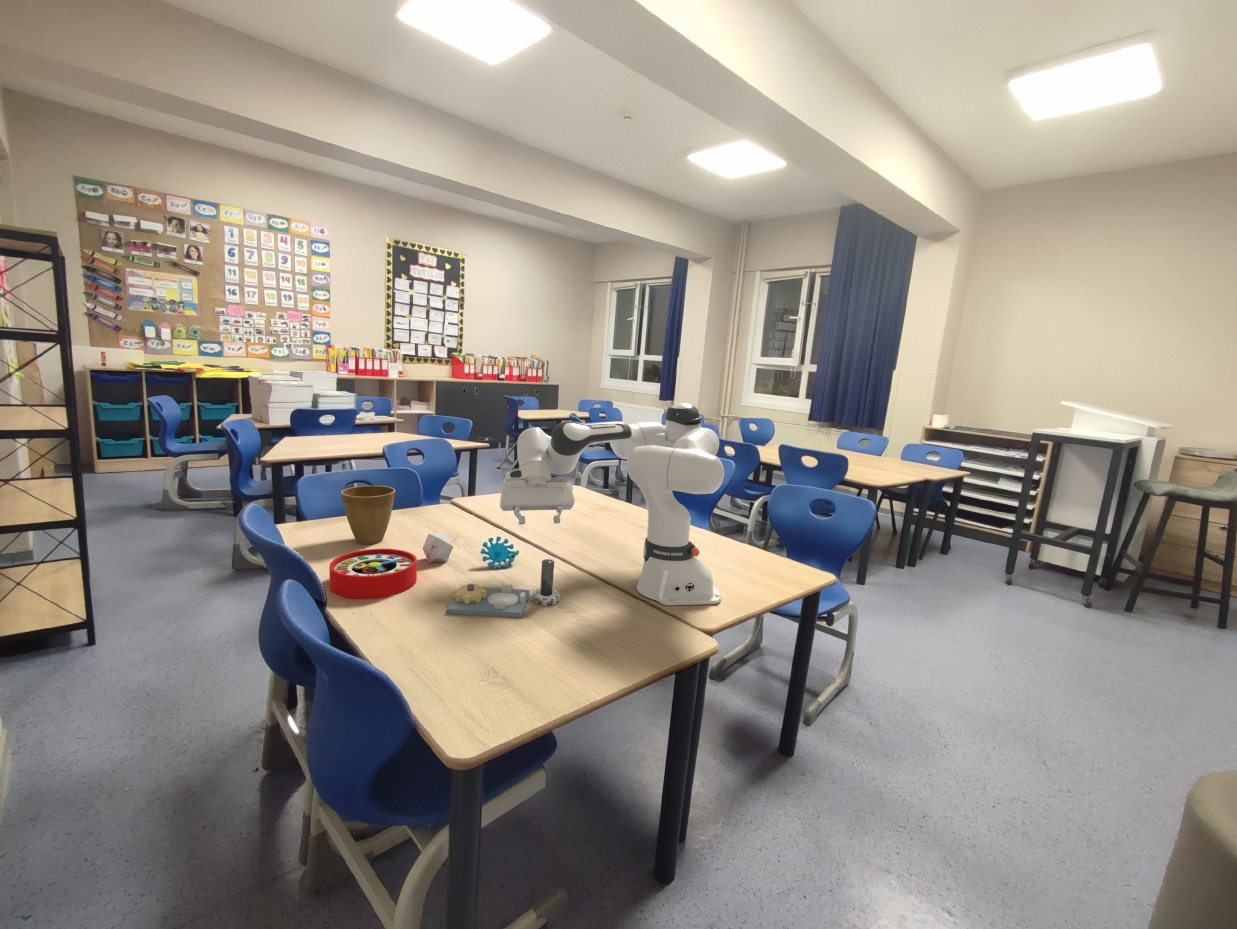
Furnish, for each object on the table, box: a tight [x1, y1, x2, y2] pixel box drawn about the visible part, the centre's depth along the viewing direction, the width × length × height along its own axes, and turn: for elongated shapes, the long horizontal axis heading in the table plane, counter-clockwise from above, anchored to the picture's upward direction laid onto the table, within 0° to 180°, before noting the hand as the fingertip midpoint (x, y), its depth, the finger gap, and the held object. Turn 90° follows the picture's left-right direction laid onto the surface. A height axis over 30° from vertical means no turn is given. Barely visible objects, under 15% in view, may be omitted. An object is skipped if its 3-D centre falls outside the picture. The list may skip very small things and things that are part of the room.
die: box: [422, 532, 454, 563], centre depth 152 cm, size 8×9×10 cm
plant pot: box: [340, 485, 396, 545], centre depth 163 cm, size 15×15×16 cm
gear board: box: [446, 583, 531, 619], centre depth 127 cm, size 17×13×4 cm
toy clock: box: [328, 548, 418, 600], centre depth 134 cm, size 20×6×20 cm
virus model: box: [480, 536, 520, 570], centre depth 153 cm, size 11×6×10 cm
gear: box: [532, 558, 561, 607], centre depth 130 cm, size 7×7×10 cm
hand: (539, 523), depth 141 cm, fingers open, 8 cm apart
